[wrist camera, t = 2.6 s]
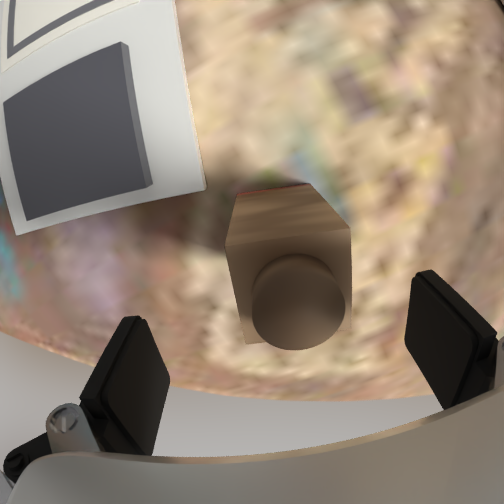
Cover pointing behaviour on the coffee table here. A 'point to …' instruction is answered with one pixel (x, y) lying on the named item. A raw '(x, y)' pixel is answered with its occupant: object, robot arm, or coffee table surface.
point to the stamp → (289, 267)
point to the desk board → (92, 109)
